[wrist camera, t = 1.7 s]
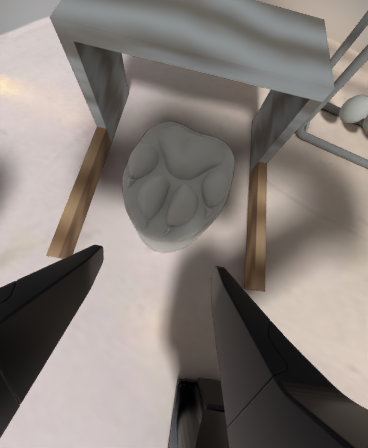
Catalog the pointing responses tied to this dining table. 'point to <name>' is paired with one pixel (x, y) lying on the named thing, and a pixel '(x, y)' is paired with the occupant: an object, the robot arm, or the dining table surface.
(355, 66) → the newton's cradle
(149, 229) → the grey animal paw
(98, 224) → the dining table surface
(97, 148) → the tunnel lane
